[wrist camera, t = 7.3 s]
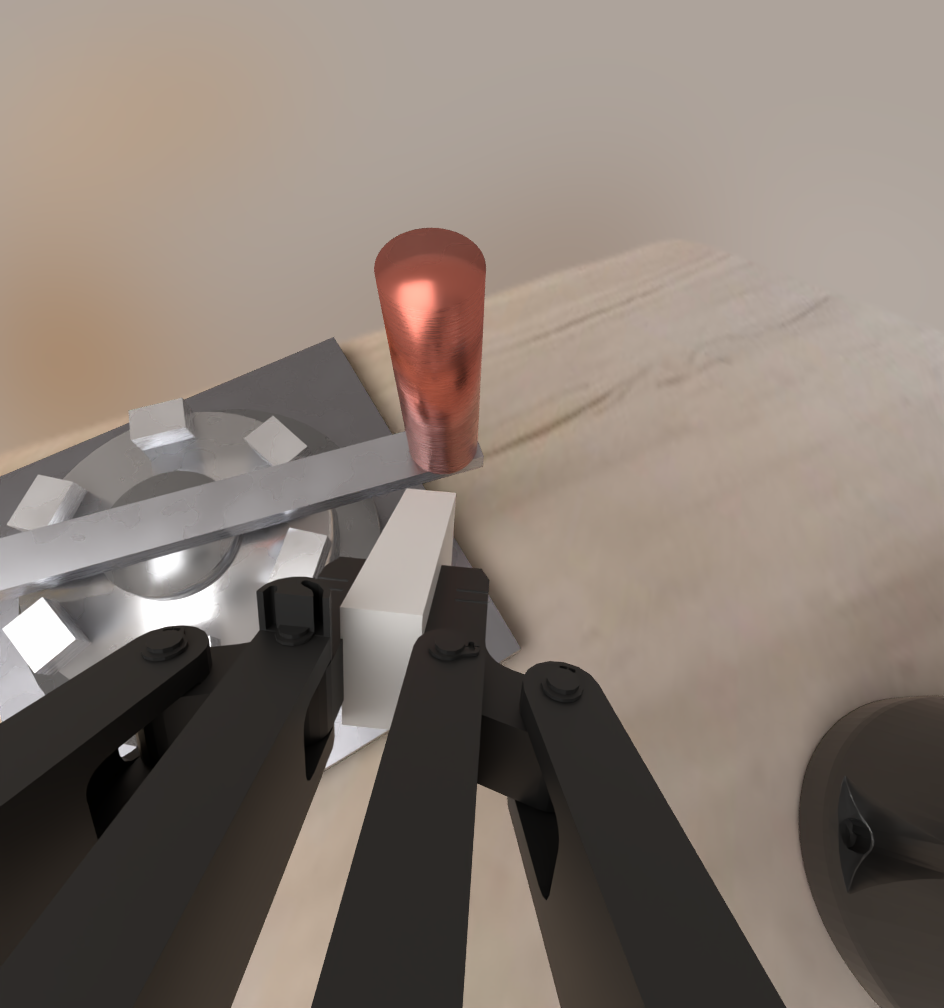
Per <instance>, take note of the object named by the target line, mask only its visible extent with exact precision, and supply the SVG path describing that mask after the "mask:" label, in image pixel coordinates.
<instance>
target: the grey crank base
mask: <svg viewBox="0 0 944 1008" xmlns="http://www.w3.org/2000/svg"><path fill="white" fill-rule="evenodd" d="M184 401H185V402H186V403H187V404H188V405H189V406H190V408H191V409H192V413H194V412H223V413H230V414H237V415H241V416H245V417H249V418H253V419H255V420H258V421H260V422H263V423H264V422H265V421H267V420H268V419H269V418H271V417H272V416H274V417H275V418H276V419H278V420H279V421H280V422H281V423H282V424H283V425H284V426H285V427H286V428H288V429H289V430H290V431H291V432H292V433H293V434H294V435H295V436H297V437H298V438H299V439H300V440H301V441H302V442H303V443H304V444H305V445H307V446H308V448H309V450H310V452H311V454H312V455H317V454H321V453H324V452H328V451H332V450H336V449H340V448H343V447H347V446H351V445H355V444H358V443H362V442H366V441H370V440H374V439H377V438H381V437H385V436H389V435H392V433H391V432H390V430H389V428H388V427H387V425H386V423H385V422H384V420H383V418H382V417H381V415H380V413H379V412H378V410H377V408H376V407H375V405H374V403H373V402H372V400H371V398H370V397H369V395H368V393H367V392H366V390H365V388H364V387H363V385H362V383H361V382H360V380H359V378H358V377H357V375H356V373H355V372H354V370H353V368H352V367H351V365H350V363H349V362H348V360H347V358H346V357H345V355H344V353H343V352H342V350H341V348H340V347H339V345H338V343H337V342H336V340H335V339H334V337H333V338H331V339H328V340H326V341H323V342H321V343H319V344H316V345H314V346H311V347H309V348H307V349H304V350H302V351H299V352H297V353H295V354H292V355H290V356H287V357H285V358H283V359H280V360H278V361H276V362H273V363H271V364H268V365H266V366H264V367H261V368H259V369H256V370H254V371H252V372H249V373H247V374H244V375H242V376H240V377H237V378H235V379H233V380H230V381H228V382H225V383H223V384H221V385H218V386H216V387H213V388H211V389H209V390H206V391H204V392H201V393H199V394H197V395H194V396H192V397H189V398H187V399H185V400H184ZM128 430H130V425H129V423H127V424H125V425H123V426H120V427H118V428H115V429H113V430H111V431H108V432H106V433H103V434H101V435H99V436H96V437H94V438H92V439H89V440H87V441H84V442H82V443H80V444H77V445H75V446H72V447H70V448H68V449H65V450H63V451H60V452H58V453H56V454H53V455H51V456H49V457H46V458H44V459H41V460H39V461H37V462H34V463H32V464H29V465H27V466H25V467H22V468H20V469H17V470H15V471H13V472H10V473H8V474H6V475H3V476H1V477H0V538H3V537H7V536H10V535H14V534H18V533H22V531H19V530H17V529H15V528H13V527H10V526H8V525H7V523H8V522H9V520H10V518H11V517H12V515H13V514H14V512H15V510H16V509H17V507H18V506H19V504H20V502H21V501H22V499H23V498H24V496H25V494H26V493H27V491H28V490H29V488H30V487H31V485H32V483H33V482H34V480H35V479H36V477H37V475H43V476H48V477H52V478H57V479H62V480H63V478H64V477H65V476H66V475H67V474H68V473H69V472H70V471H71V470H72V469H73V468H74V467H75V466H76V465H78V464H79V463H80V462H81V461H82V460H83V459H85V458H86V457H87V456H88V455H90V454H91V453H92V452H93V451H95V450H96V449H97V448H99V447H101V446H102V445H104V444H105V443H107V442H108V441H110V440H111V439H113V438H115V437H117V436H119V435H121V434H123V433H124V432H126V431H128ZM408 488H409V489H419V490H425V488H424V486H423V485H422V484H419V485H415V486H412V487H408ZM406 489H407V488H405V489H401V490H398V491H394V492H390V493H387V494H383V495H380V496H376V497H373V498H369V499H365V500H362V501H358V502H355V503H351V504H348V505H344V506H340V507H337V508H335V509H336V512H337V515H338V521H339V528H340V554H339V557H351V558H361V559H367V558H368V556H369V554H370V553H371V551H372V549H373V547H374V546H375V544H376V542H377V540H378V538H379V537H380V535H381V533H382V531H383V529H384V528H385V526H386V524H387V522H388V521H389V519H390V517H391V515H392V513H393V512H394V510H395V508H396V506H397V505H398V503H399V501H400V499H401V497H402V496H403V494H404V492H405V490H406ZM451 566H458V567H468V568H472V566H471V564H470V563H469V561H468V559H467V558H466V556H465V554H464V553H463V551H462V549H461V548H460V546H459V544H458V543H457V541H456V540H455V538H454V536H453V547H452V561H451ZM20 614H21V609H20V604H19V597H15V598H12V599H8V600H5V601H1V602H0V715H1V720H2V722H3V721H5V720H6V719H8V718H10V717H11V716H13V715H14V714H16V713H18V712H19V711H21V710H22V709H24V708H25V707H27V706H29V705H30V704H32V703H33V702H35V701H37V700H38V699H40V698H41V697H43V696H45V695H46V694H48V693H49V692H51V691H53V690H54V689H56V688H57V687H59V686H60V685H62V684H64V683H65V682H67V681H68V680H70V679H68V678H67V677H65V676H64V675H63V674H61V673H60V672H59V671H58V672H57V673H55V674H54V675H46V674H38V673H34V672H33V670H32V669H31V667H30V666H29V665H28V663H27V662H26V661H25V659H24V658H23V657H22V655H21V654H20V653H19V651H18V650H17V648H16V647H15V646H14V644H13V643H12V642H11V640H10V639H9V638H8V636H7V635H6V634H5V632H4V631H3V628H4V627H5V626H6V625H8V624H9V623H10V622H11V621H13V620H14V619H15V618H17V617H18V616H19V615H20ZM485 643H486V648H487V650H488V652H489V654H490V655H491V656H492V657H493V659H494V660H495V661H497V662H498V663H502V662H503V661H505V660H507V659H508V658H510V657H512V656H513V655H515V654H516V653H518V652H519V651H520V649H521V648H520V646H519V644H518V643H517V641H516V639H515V638H514V636H513V634H512V633H511V631H510V629H509V628H508V626H507V624H506V623H505V621H504V619H503V618H502V616H501V614H500V613H499V611H498V609H497V608H496V606H495V604H494V603H493V601H492V599H491V598H490V596H489V594H488V607H487V623H486V639H485ZM334 726H335V739H334V746H333V749H332V751H331V754H330V757H329V759H328V762H327V764H326V767H325V769H324V771H326V770H327V769H329V768H331V767H332V766H334V765H336V764H337V763H339V762H340V761H342V760H344V759H345V758H347V757H349V756H350V755H352V754H353V753H355V752H357V751H358V750H360V749H362V748H363V747H365V746H366V745H368V744H370V743H371V742H373V741H375V740H376V739H378V738H380V737H381V736H383V735H384V734H386V733H388V732H389V730H385V729H376V728H367V727H358V726H348V725H342V705H341V708H340V710H339V713H338V715H337V717H336V720H335V722H334ZM137 746H138V745H137V740H136V735H134V736H133V737H131V738H130V739H129V740H128V741H126V742H125V743H124V744H123V745H122V746H120V747H119V748H118V749H119V754H120V756H121V757H123V756H125V755H126V754H128V753H130V752H131V751H133V750H134V749H135V748H136V747H137Z"/></svg>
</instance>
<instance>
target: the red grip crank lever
mask: <svg viewBox="0 0 944 1008" xmlns="http://www.w3.org/2000/svg"><path fill="white" fill-rule="evenodd" d="M374 272H375V277H376V283H377V288H378V293H379V299H380V303H381V309H382V314H383V319H384V324H385V329H386V334H387V339H388V344H389V349H390V355H391V360H392V365H393V370H394V375H395V380H396V385H397V390H398V395H399V400H400V406H401V411H402V416H403V421H404V426H405V431H404V432H400V433H396V434H393V435H389V436H385V437H381V438H377V439H374V440H370V441H366V442H362V443H358V444H355V445H351V446H347V447H343V448H340V449H336V450H332V451H328V452H324V453H321V454H317V455H312V454H311V452H310V450H309V448H308V446H307V445H305V444H304V443H303V442H302V441H301V440H300V439H299V438H298V437H297V436H295V435H294V434H293V433H292V432H291V431H290V430H289V429H288V428H286V427H285V426H284V425H283V424H282V423H281V422H280V421H279V420H278V419H276V418H275V417H274V416H272V417H271V418H269V419H268V420H267V421H265V422H264V423H263V422H260V421H258V420H255V419H253V418H249V417H245V416H241V415H237V414H230V413H223V412H194V413H192V409H191V408H190V406H189V405H188V404H187V403H186V402H185V401H184V399H183V398H179V399H175V400H171V401H166V402H162V403H158V404H154V405H150V406H146V407H141V408H137V409H133V410H129V425H130V430H128V431H126V432H124V433H123V434H121V435H119V436H117V437H115V438H113V439H111V440H110V441H108V442H107V443H105V444H104V445H102V446H101V447H99V448H97V449H96V450H95V451H93V452H92V453H91V454H90V455H88V456H87V457H86V458H85V459H83V460H82V461H81V462H80V463H79V464H78V465H76V466H75V467H74V468H73V469H72V470H71V471H70V472H69V473H68V474H67V475H66V476H65V477H64V478H63V480H62V479H57V478H52V477H48V476H43V475H37V477H36V479H35V480H34V482H33V483H32V485H31V487H30V488H29V490H28V491H27V493H26V494H25V496H24V498H23V499H22V501H21V502H20V504H19V506H18V507H17V509H16V510H15V512H14V514H13V515H12V517H11V518H10V520H9V522H8V523H7V525H8V526H10V527H13V528H15V529H17V530H19V531H22V533H18V534H14V535H10V536H7V537H3V538H0V602H1V601H5V600H8V599H12V598H15V597H19V604H20V609H21V614H20V615H19V616H18V617H17V618H15V619H14V620H13V621H11V622H10V623H9V624H8V625H6V626H5V627H4V628H3V631H4V632H5V634H6V635H7V636H8V638H9V639H10V640H11V642H12V643H13V644H14V646H15V647H16V648H17V650H18V651H19V653H20V654H21V655H22V657H23V658H24V659H25V661H26V662H27V663H28V665H29V666H30V667H31V669H32V670H33V672H34V673H38V674H46V675H54V674H55V673H57V672H58V671H59V672H60V673H61V674H63V675H64V676H65V677H67V678H68V679H72V678H73V677H75V676H76V675H78V674H80V673H81V672H83V671H84V670H86V669H88V668H89V667H91V666H92V665H94V664H95V663H97V662H99V661H100V660H102V659H103V658H105V657H107V656H108V655H110V654H111V653H113V652H115V651H116V650H118V649H119V648H121V647H122V646H124V645H126V644H127V643H129V642H130V641H132V640H134V639H135V638H137V637H139V636H141V635H143V634H145V633H147V632H149V631H152V630H156V629H159V628H163V627H166V626H175V625H187V626H194V627H198V628H199V629H201V630H203V631H205V632H206V634H207V636H208V638H209V643H210V647H214V646H224V645H233V644H241V643H247V642H251V640H252V639H253V638H254V637H255V635H256V634H257V633H258V631H259V618H258V607H257V595H256V591H257V590H258V589H259V588H261V587H262V586H263V585H265V584H267V583H269V582H272V581H274V580H277V579H282V578H287V577H310V578H315V579H317V578H318V575H319V574H320V573H321V571H322V570H323V568H324V567H325V566H326V565H327V564H329V563H330V562H332V561H334V560H336V559H337V558H339V554H340V528H339V521H338V515H337V512H336V509H335V508H337V507H340V506H344V505H348V504H351V503H355V502H358V501H362V500H365V499H369V498H373V497H376V496H380V495H383V494H387V493H390V492H394V491H398V490H401V489H405V488H408V487H412V486H415V485H419V484H423V483H426V482H430V481H433V480H437V479H440V478H444V477H448V476H451V475H455V474H458V473H462V472H465V471H469V470H473V469H476V468H480V467H483V459H484V456H483V453H482V451H481V448H480V445H479V443H478V421H479V400H480V380H481V359H482V338H483V317H484V297H485V275H486V264H485V259H484V256H483V254H482V252H481V251H480V249H479V248H478V247H477V245H476V244H474V243H473V242H472V241H471V240H469V239H468V238H467V237H465V236H463V235H461V234H459V233H457V232H453V231H450V230H446V229H440V228H422V229H415V230H412V231H408V232H405V233H403V234H400V235H398V236H396V237H395V238H393V239H392V240H390V241H389V242H388V243H387V244H386V245H385V246H384V247H383V248H382V249H381V251H380V252H379V254H378V256H377V258H376V261H375V267H374Z"/></svg>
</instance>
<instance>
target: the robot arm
mask: <svg viewBox="0 0 944 1008" xmlns="http://www.w3.org/2000/svg"><path fill="white" fill-rule="evenodd" d="M455 504H456V493H451V492H441V491H430V490H419V489H409V488H407V489H406V490H405V492H404V494H403V496H402V497H401V499H400V501H399V503H398V505H397V506H396V508H395V510H394V512H393V513H392V515H391V517H390V519H389V521H388V522H387V524H386V526H385V528H384V529H383V531H382V533H381V535H380V537H379V538H378V540H377V542H376V544H375V546H374V547H373V549H372V551H371V553H370V554H369V556H368V558H367V559H361V558H351V557H339V558H337V559H336V560H334V561H332V562H330V563H329V564H327V565H326V566H325V567H324V568H323V570H322V571H321V573H320V574H319V575H318V578H317V579H315V578H310V577H287V578H282V579H277V580H274V581H272V582H269V583H267V584H265V585H263V586H262V587H261V588H259V589H258V590H257V591H256V595H257V607H258V618H259V631H258V633H257V634H256V635H255V637H254V638H253V639H252V640H251V642H247V643H241V644H233V645H224V646H214V647H210V643H209V638H208V636H207V634H206V632H205V631H203V630H201V629H199V628H198V627H194V626H187V625H175V626H166V627H163V628H159V629H156V630H152V631H149V632H147V633H145V634H143V635H141V636H139V637H137V638H135V639H134V640H132V641H130V642H129V643H127V644H126V645H124V646H122V647H121V648H119V649H118V650H116V651H115V652H113V653H111V654H110V655H108V656H107V657H105V658H103V659H102V660H100V661H99V662H97V663H95V664H94V665H92V666H91V667H89V668H88V669H86V670H84V671H83V672H81V673H80V674H78V675H76V676H75V677H73V678H72V679H70V680H68V681H67V682H65V683H64V684H62V685H60V686H59V687H57V688H56V689H54V690H53V691H51V692H49V693H48V694H46V695H45V696H43V697H41V698H40V699H38V700H37V701H35V702H33V703H32V704H30V705H29V706H27V707H25V708H24V709H22V710H21V711H19V712H18V713H16V714H14V715H13V716H11V717H10V718H8V719H6V720H5V721H3V722H2V723H0V1008H231V1006H232V1003H233V1001H234V998H235V996H236V993H237V991H238V988H239V985H240V983H241V980H242V978H243V975H244V973H245V970H246V968H247V965H248V963H249V960H250V957H251V955H252V952H253V950H254V947H255V945H256V942H257V940H258V937H259V935H260V932H261V929H262V927H263V924H264V922H265V919H266V917H267V914H268V912H269V909H270V907H271V904H272V901H273V899H274V896H275V894H276V891H277V889H278V886H279V884H280V881H281V879H282V876H283V874H284V871H285V868H286V866H287V863H288V861H289V858H290V856H291V853H292V851H293V848H294V846H295V843H296V840H297V838H298V835H299V833H300V830H301V828H302V825H303V823H304V820H305V818H306V815H307V812H308V810H309V807H310V805H311V802H312V800H313V797H314V795H315V792H316V790H317V787H318V784H319V782H320V779H321V777H322V774H323V772H324V769H325V767H326V764H327V762H328V759H329V757H330V754H331V751H332V749H333V746H334V739H335V726H334V722H335V720H336V717H337V715H338V713H339V710H340V708H341V705H342V725H348V726H358V727H367V728H376V729H385V730H389V734H388V737H387V741H386V744H385V748H384V751H383V755H382V758H381V762H380V765H379V769H378V773H377V776H376V780H375V783H374V787H373V790H372V794H371V797H370V801H369V804H368V808H367V812H366V815H365V819H364V822H363V826H362V829H361V833H360V836H359V840H358V843H357V847H356V850H355V854H354V858H353V861H352V865H351V868H350V872H349V875H348V879H347V882H346V886H345V889H344V893H343V897H342V900H341V904H340V907H339V911H338V914H337V918H336V921H335V925H334V928H333V932H332V935H331V939H330V943H329V946H328V950H327V953H326V957H325V960H324V964H323V967H322V971H321V974H320V978H319V982H318V985H317V989H316V992H315V996H314V999H313V1003H312V1006H311V1008H462V1007H463V991H464V976H465V961H466V945H467V930H468V915H469V899H470V884H471V869H472V853H473V838H474V823H475V807H476V792H477V783H478V784H480V785H482V786H485V787H487V788H489V789H491V790H494V791H496V792H498V793H501V794H503V795H505V796H507V800H508V807H509V811H510V815H511V819H512V823H513V827H514V830H515V834H516V838H517V842H518V846H519V849H520V853H521V857H522V861H523V865H524V869H525V872H526V876H527V880H528V884H529V888H530V891H531V895H532V899H533V903H534V907H535V911H536V914H537V918H538V922H539V926H540V930H541V934H542V937H543V941H544V945H545V949H546V953H547V956H548V960H549V964H550V968H551V972H552V976H553V979H554V983H555V987H556V991H557V995H558V998H559V1002H560V1006H561V1008H786V1006H785V1005H784V1003H783V1001H782V999H781V998H780V996H779V994H778V992H777V991H776V989H775V987H774V986H773V984H772V982H771V980H770V979H769V977H768V975H767V974H766V972H765V970H764V968H763V967H762V965H761V963H760V961H759V960H758V958H757V956H756V955H755V953H754V951H753V949H752V948H751V946H750V944H749V942H748V941H747V939H746V937H745V936H744V934H743V932H742V930H741V929H740V927H739V925H738V924H737V922H736V920H735V918H734V917H733V915H732V913H731V911H730V910H729V908H728V906H727V905H726V903H725V901H724V899H723V898H722V896H721V894H720V893H719V891H718V889H717V887H716V886H715V884H714V882H713V880H712V879H711V877H710V875H709V874H708V872H707V870H706V868H705V867H704V865H703V863H702V861H701V860H700V858H699V856H698V855H697V853H696V851H695V849H694V848H693V846H692V844H691V843H690V841H689V839H688V837H687V836H686V834H685V832H684V830H683V829H682V827H681V825H680V824H679V822H678V820H677V818H676V817H675V815H674V813H673V812H672V810H671V808H670V806H669V805H668V803H667V801H666V799H665V798H664V796H663V794H662V793H661V791H660V789H659V787H658V786H657V784H656V782H655V781H654V779H653V777H652V775H651V774H650V772H649V770H648V768H647V767H646V765H645V763H644V762H643V760H642V758H641V756H640V755H639V753H638V751H637V749H636V748H635V746H634V744H633V743H632V741H631V739H630V737H629V736H628V734H627V732H626V731H625V729H624V727H623V725H622V724H621V722H620V720H619V718H618V717H617V715H616V713H615V712H614V710H613V708H612V706H611V705H610V703H609V701H608V700H607V698H606V696H605V694H604V693H603V691H602V689H601V687H600V686H599V684H598V683H597V682H596V681H595V680H594V678H593V677H592V676H591V675H590V674H588V673H587V672H585V671H584V670H582V669H580V668H579V667H576V666H573V665H570V664H567V663H564V662H552V661H549V662H544V663H539V664H536V665H534V666H533V667H531V668H530V669H528V670H527V672H526V674H522V673H519V672H516V671H513V670H511V669H509V668H506V667H504V666H503V665H501V664H500V663H498V662H497V661H495V660H494V659H493V657H492V656H491V655H490V654H489V652H488V650H487V648H486V643H485V639H486V623H487V607H488V592H489V579H488V577H487V576H486V575H485V573H484V572H483V570H482V569H478V568H468V567H458V566H451V561H452V547H453V533H454V518H455ZM134 735H136V740H137V745H138V746H137V747H136V748H135V749H134V750H133V751H131V752H130V753H128V754H126V755H125V756H123V757H121V756H120V754H119V749H118V748H119V747H120V746H122V745H123V744H124V743H125V742H126V741H128V740H129V739H130V738H131V737H133V736H134ZM799 830H800V843H801V850H802V857H803V862H804V867H805V871H806V875H807V879H808V883H809V886H810V889H811V892H812V896H813V898H814V901H815V904H816V906H817V909H818V912H819V914H820V916H821V918H822V921H823V923H824V925H825V927H826V929H827V931H828V933H829V935H830V937H831V939H832V941H833V943H834V945H835V946H836V948H837V950H838V952H839V953H840V955H841V957H842V958H843V960H844V961H845V963H846V964H847V966H848V967H849V969H850V970H851V972H852V973H853V975H854V976H855V977H856V979H857V980H858V981H859V983H860V984H861V985H862V987H863V988H864V989H865V990H866V991H867V993H868V994H869V995H870V996H871V997H872V999H873V1000H874V1001H875V1002H876V1003H877V1004H878V1005H879V1006H880V1007H881V1008H944V696H916V697H900V698H890V699H884V700H880V701H876V702H873V703H869V704H867V705H864V706H862V707H860V708H858V709H856V710H854V711H852V712H850V713H849V714H847V715H846V716H845V717H843V718H842V719H841V720H839V721H838V722H837V723H836V724H835V725H834V726H833V727H832V728H831V729H830V730H829V731H828V732H827V734H826V735H825V736H824V737H823V739H822V740H821V742H820V743H819V745H818V746H817V748H816V750H815V752H814V754H813V756H812V758H811V760H810V763H809V765H808V768H807V771H806V774H805V778H804V782H803V786H802V792H801V799H800V810H799Z"/></svg>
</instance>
